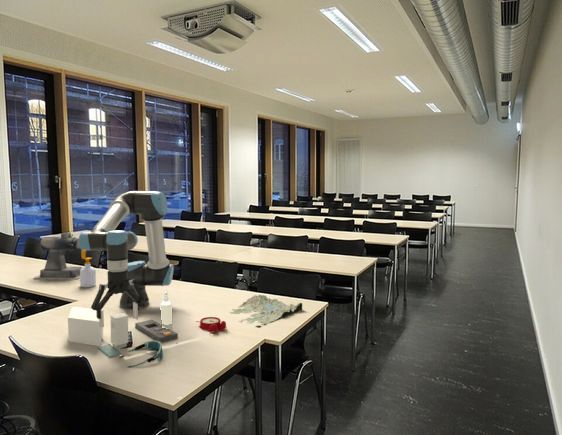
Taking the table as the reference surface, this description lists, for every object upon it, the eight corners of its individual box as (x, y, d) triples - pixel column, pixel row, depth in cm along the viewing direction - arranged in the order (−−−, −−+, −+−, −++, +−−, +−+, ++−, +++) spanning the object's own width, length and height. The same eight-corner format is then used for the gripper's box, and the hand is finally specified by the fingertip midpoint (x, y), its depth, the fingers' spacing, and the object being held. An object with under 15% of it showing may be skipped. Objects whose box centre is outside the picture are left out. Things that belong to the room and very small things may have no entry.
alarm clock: (210, 315, 199) (231, 315, 190) (212, 328, 199) (233, 328, 189) (192, 320, 191) (213, 320, 182) (194, 334, 191) (215, 335, 181)
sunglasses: (169, 359, 158) (167, 347, 157) (129, 375, 149) (127, 362, 148) (155, 347, 169) (154, 336, 168) (118, 361, 160) (116, 349, 159)
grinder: (46, 273, 301) (44, 231, 299) (89, 273, 302) (88, 231, 299) (31, 279, 283) (30, 234, 280) (78, 279, 284) (77, 234, 281)
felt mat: (98, 348, 167) (98, 346, 167) (127, 340, 175) (127, 339, 175) (109, 357, 158) (109, 356, 158) (140, 349, 166) (140, 347, 166)
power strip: (129, 326, 193) (129, 318, 193) (146, 322, 198) (146, 314, 198) (160, 345, 171) (159, 336, 171) (177, 340, 176) (177, 331, 176)
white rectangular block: (82, 351, 164) (81, 326, 163) (56, 332, 184) (55, 309, 183) (118, 341, 175) (117, 317, 174) (89, 325, 195) (89, 303, 194)
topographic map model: (258, 329, 194) (258, 318, 193) (214, 316, 211) (214, 306, 211) (302, 311, 222) (302, 301, 221) (260, 301, 240) (260, 292, 239)
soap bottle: (98, 285, 269) (98, 247, 267) (85, 288, 261) (84, 249, 259) (90, 283, 273) (89, 246, 271) (77, 286, 266) (76, 247, 264)
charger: (110, 347, 167) (110, 315, 166) (123, 343, 170) (122, 312, 169) (115, 350, 163) (114, 318, 162) (128, 347, 167) (127, 315, 166)
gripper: (87, 276, 153) (89, 332, 155) (151, 267, 170) (152, 317, 172) (81, 272, 159) (82, 327, 161) (143, 264, 175) (144, 313, 177)
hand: (119, 322), depth 166 cm, fingers open, 13 cm apart
